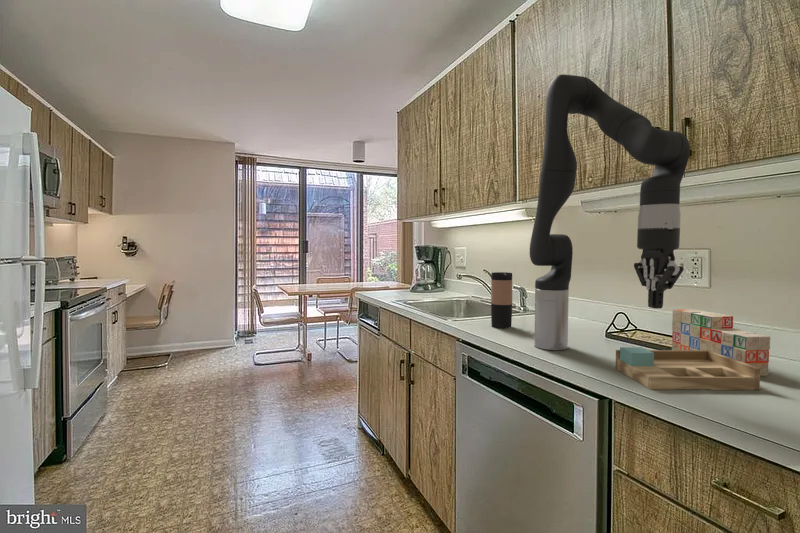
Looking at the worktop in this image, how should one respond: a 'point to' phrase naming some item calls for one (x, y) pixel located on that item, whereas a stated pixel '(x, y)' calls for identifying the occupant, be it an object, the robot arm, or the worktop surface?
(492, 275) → the travel mug
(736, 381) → the board
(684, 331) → the stack of blocks
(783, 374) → the worktop surface
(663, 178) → the robot arm
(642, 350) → the block
